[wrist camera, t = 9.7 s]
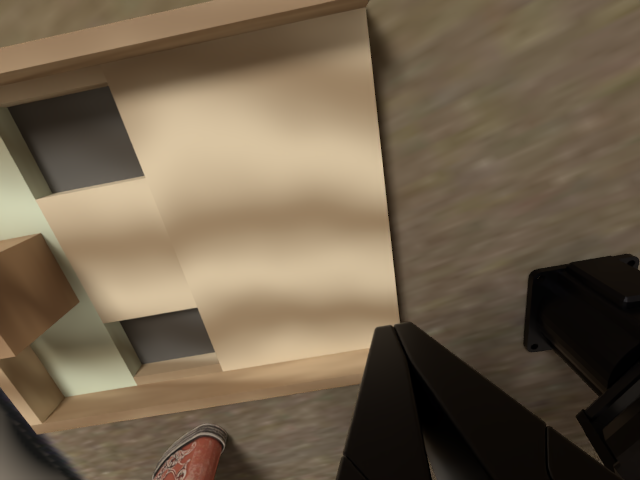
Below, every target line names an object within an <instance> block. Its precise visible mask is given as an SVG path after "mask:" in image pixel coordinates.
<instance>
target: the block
mask: <svg viewBox="0 0 640 480" xmlns="http://www.w3.org/2000/svg"><path fill="white" fill-rule="evenodd" d="M79 302H80V301H79V299H78V298H77V296H76V294H75V292H74V291H73V289H72V287H71V285H70V283H69V282H68V280H67V278H66V276H65V275H64V273H63V271H62V269H61V268H60V266H59V264H58V262H57V260H56V259H55V257H54V255H53V253H52V252H51V250H50V248H49V246H48V244H47V243H46V241H45V239H44V237H43V236H42V234H41V233H38V234H33V235H27V236H22V237H17V238H11V239H6V240H1V241H0V359H4V358H10V357H16V356H17V355H18V354H19V353H20V352H22V351H23V350H24V349H25V348H26V347H27V346H29V345H30V344H31V343H32V342H33V341H35V340H36V339H37V338H38V337H39V336H40V335H42V334H43V333H44V332H45V331H46V330H48V329H49V328H50V327H51V326H52V325H53V324H55V323H56V322H57V321H58V320H59V319H60V318H62V317H63V316H64V315H65V314H66V313H68V312H69V311H70V310H71V309H72V308H73V307H75V306H76V305H77V304H78V303H79Z"/></svg>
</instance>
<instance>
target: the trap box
mask: <svg viewBox="0 0 640 480" xmlns="http://www.w3.org/2000/svg"><path fill="white" fill-rule="evenodd" d="M368 2H369V0H214V1H209V2H205V3H200V4H196V5H191V6H187V7H182V8H178V9H173V10H169V11H164V12H160V13H155V14H151V15H146V16H142V17H137V18H133V19H128V20H124V21H119V22H115V23H110V24H106V25H101V26H97V27H92V28H88V29H83V30H79V31H74V32H70V33H65V34H61V35H56V36H52V37H47V38H43V39H38V40H34V41H29V42H25V43H20V44H16V45H11V46H7V47H2V48H0V241H1V240H6V239H11V238H17V237H22V236H27V235H33V234H38V233H41V234H42V236H43V237H44V239H45V241H46V243H47V244H48V246H49V248H50V250H51V252H52V253H53V255H54V257H55V259H56V260H57V262H58V264H59V266H60V268H61V269H62V271H63V273H64V275H65V276H66V278H67V280H68V282H69V283H70V285H71V287H72V289H73V291H74V292H75V294H76V296H77V298H78V299H79V301H80V302H79V303H78V304H77V305H76V306H75V307H73V308H72V309H71V310H70V311H69V312H68V313H66V314H65V315H64V316H63V317H62V318H60V319H59V320H58V321H57V322H56V323H55V324H53V325H52V326H51V327H50V328H49V329H48V330H46V331H45V332H44V333H43V334H42V335H40V336H39V337H38V338H37V339H36V340H35V341H33V342H32V343H31V344H30V345H29V346H27V347H26V348H25V349H24V350H23V351H22V352H20V353H19V354H18V355H17V356H16V357H10V358H4V359H0V387H1V388H2V390H3V391H4V392H5V394H6V395H7V396H8V397H9V399H10V400H11V401H12V403H13V404H14V405H15V406H16V408H17V409H18V410H19V412H20V413H21V414H22V415H23V417H24V418H25V419H26V421H27V422H28V423H29V424H30V426H31V427H32V428H33V430H34V431H35V432H36V434H42V433H48V432H55V431H61V430H67V429H74V428H80V427H87V426H93V425H99V424H106V423H112V422H119V421H125V420H131V419H138V418H144V417H151V416H157V415H163V414H170V413H176V412H183V411H189V410H195V409H202V408H208V407H215V406H221V405H227V404H234V403H240V402H247V401H253V400H259V399H266V398H272V397H279V396H285V395H291V394H298V393H304V392H311V391H317V390H323V389H330V388H336V387H343V386H349V385H355V384H361V380H362V376H363V372H364V369H365V365H366V361H367V357H368V353H369V349H370V345H371V341H372V337H373V334H374V330H375V328H376V327H379V326H385V325H392V326H394V324H397V323H400V320H399V311H398V302H397V293H396V283H395V274H394V265H393V256H392V246H391V237H390V228H389V219H388V210H387V200H386V191H385V182H384V173H383V163H382V154H381V145H380V136H379V126H378V117H377V108H376V99H375V89H374V80H373V71H372V62H371V53H370V43H369V34H368V25H367V16H366V5H367V4H368Z"/></svg>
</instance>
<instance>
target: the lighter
mask: <svg viewBox="0 0 640 480" xmlns="http://www.w3.org/2000/svg"><path fill="white" fill-rule="evenodd" d="M226 441H227V433H226V432H225V430H224V429H222V428H221V427H219V426H217V425H214V424H203V425H200V426H198V427H197V428H195V429H193V430H192V431H190V432H188V433H186V434H185V435H184V436H183V437H181V438H180V439H179V440H177V441H176V442H175V443H174V444H173V445H172V446H171V447H170V448H169V449H168V450H167V451H166V452H165V453H164V455H163V457H162V458H161V460H160V461H159V463H158V464H157V467H156V469H155V471H154V474H153V477H152V479H153V480H214V477H215V473H216V469H217V466H218V462H219V458H220V455H221V453H222V452H223V451H224V448H225V445H226Z"/></svg>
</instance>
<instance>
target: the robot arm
mask: <svg viewBox="0 0 640 480" xmlns="http://www.w3.org/2000/svg"><path fill="white" fill-rule="evenodd" d="M638 265H639V259H638V258H637V257H635V256H633V255H631V254H624V255H618V256H606V257H600V258H595V259H589V260H583V261H577V262H571V263H569V264H565V265H559V266H553V267H547V268H541V269H536V270H534V271H532V272H531V274H530V275H529V283H528V296H527V308H526V321H525V334H524V346H525V348H526V349H527V350H528V351H529V352H539V351H545V350H551V349H553V350H554V351H555V352H556V353H557V354H558V355H559V356H560V357H561V358H562V359H563V360H564V361H565V362H566V363H567V364H568V365H569V366H570V367H571V368H572V369H573V370H574V371H575V372H576V373H577V374H578V375H579V377H580V378H581V379H582V380H583V381H584V382H585V383H586V384H587V385H588V386H589V387H590V388H591V389H592V390H593V391H594V392H595V393H596V394H597V395H598V396H599V398H597V399H596V400H595V401H594V402H593V403H592V404H591V405H590V406H589V407H588V408H587V409H586V410H584V409H583V410H581V411H580V412H579V413H578V414H577V415H576V418H577V420H578V421H579V423H580V425H581V426H582V428H583V430H584V432H585V434H586V436H587V437H588V439H589V441H590V442H591V444H592V446H593V447H594V449H595V451H596V452H597V454H598V455H599V457H600V459H601V460H602V462H603V464H604V465H605V466H604V465H602V464H601V463H599V462H598V461H597V460H595V459H594V458H592V457H591V456H590V455H588V454H587V453H586V452H584V451H583V450H581V449H580V448H579V447H577V446H576V445H574V444H573V443H572V442H570V441H569V440H568V439H566V438H565V437H564V436H562V435H561V434H560V433H558V432H557V431H556V430H554V429H553V428H552V427H550V426H548V427H546V424H545V422H543V421H542V420H541V419H539V418H538V417H537V416H535V415H534V414H533V413H531V412H530V411H529V410H527V409H526V408H525V407H524V406H522V405H521V404H520V403H518V402H517V401H516V400H514V399H513V398H512V397H510V396H509V395H508V394H506V393H505V392H504V391H502V390H501V389H500V388H498V387H497V386H496V385H494V384H493V383H492V382H490V381H489V380H488V379H486V378H485V377H484V376H482V375H481V374H480V373H478V372H477V371H476V370H474V369H473V368H472V367H470V366H469V365H468V364H466V363H465V362H464V361H462V360H461V359H460V358H458V357H457V356H456V355H454V354H453V353H452V352H450V351H449V350H448V349H446V348H445V347H444V346H442V345H441V344H440V343H438V342H437V341H436V340H434V339H433V338H432V337H430V336H429V335H428V334H426V333H425V332H424V331H422V330H421V329H420V328H418V327H417V326H416V325H414V324H413V323H412V322H403V323H397V324H394V326H392V325H385V326H379V327H376V328H375V330H374V334H373V337H372V341H371V345H370V349H369V353H368V357H367V361H366V365H365V369H364V372H363V376H362V380H361V384H360V388H359V392H358V396H357V400H356V404H355V408H354V411H353V415H352V419H351V423H350V427H349V431H348V435H347V439H346V443H345V447H344V450H343V456H342V458H341V461H340V465H339V469H338V473H337V477H336V480H432V478H431V473H430V468H429V463H428V458H429V461H430V463H431V466H432V468H433V471H434V473H435V476H436V478H437V480H640V270H638ZM539 276H540V278H539V279H537V278H538V277H539ZM427 456H428V458H427Z"/></svg>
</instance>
